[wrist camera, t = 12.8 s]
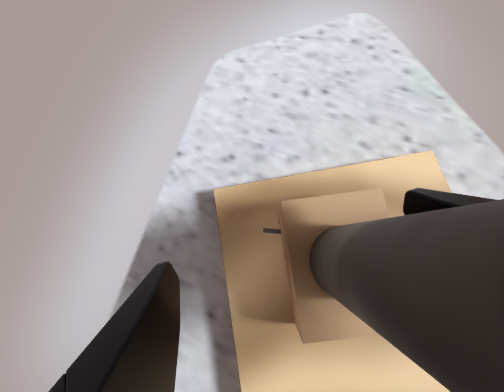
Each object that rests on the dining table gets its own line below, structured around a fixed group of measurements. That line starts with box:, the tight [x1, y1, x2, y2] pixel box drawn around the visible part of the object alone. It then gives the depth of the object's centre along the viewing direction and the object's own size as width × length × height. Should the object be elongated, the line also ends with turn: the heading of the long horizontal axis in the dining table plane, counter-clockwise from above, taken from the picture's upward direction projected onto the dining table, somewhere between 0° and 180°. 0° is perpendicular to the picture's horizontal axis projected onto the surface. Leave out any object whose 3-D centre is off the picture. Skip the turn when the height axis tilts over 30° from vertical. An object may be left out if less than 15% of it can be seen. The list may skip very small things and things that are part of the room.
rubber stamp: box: [277, 188, 504, 392], centre depth 8 cm, size 7×6×12 cm
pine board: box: [214, 151, 451, 392], centre depth 13 cm, size 20×16×2 cm
